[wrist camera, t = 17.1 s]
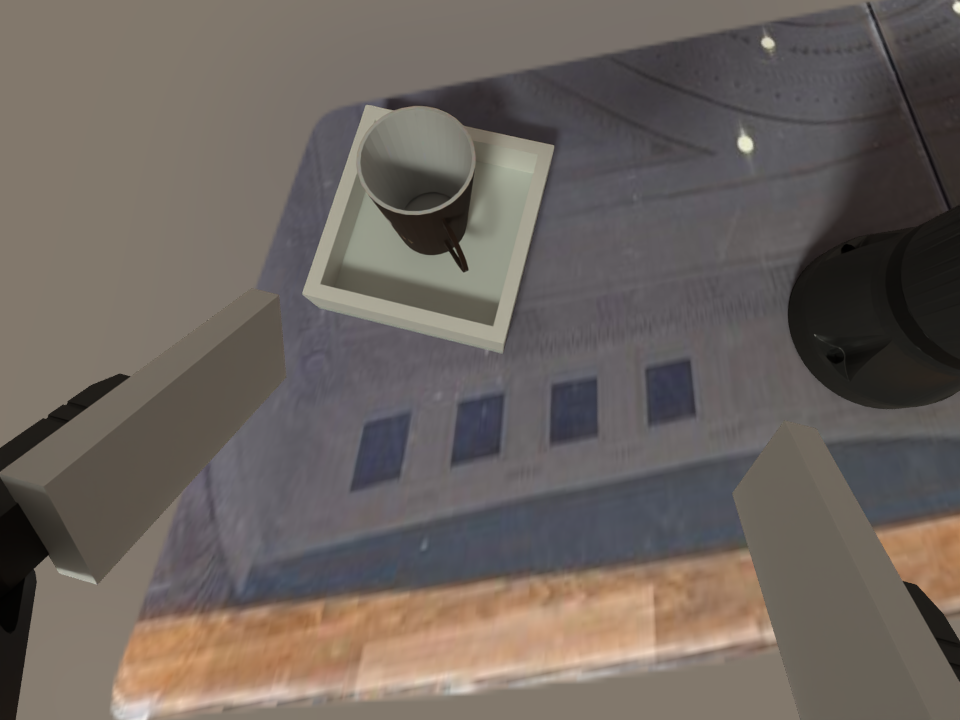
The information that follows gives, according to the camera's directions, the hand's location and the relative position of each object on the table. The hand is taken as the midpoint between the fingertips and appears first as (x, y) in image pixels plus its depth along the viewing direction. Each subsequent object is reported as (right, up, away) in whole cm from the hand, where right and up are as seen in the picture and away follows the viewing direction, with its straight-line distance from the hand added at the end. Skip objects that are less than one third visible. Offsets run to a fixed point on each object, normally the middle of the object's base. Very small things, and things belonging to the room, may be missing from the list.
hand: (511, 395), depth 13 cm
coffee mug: (-5, +12, +32) cm, 34 cm away
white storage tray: (-5, +12, +33) cm, 35 cm away
